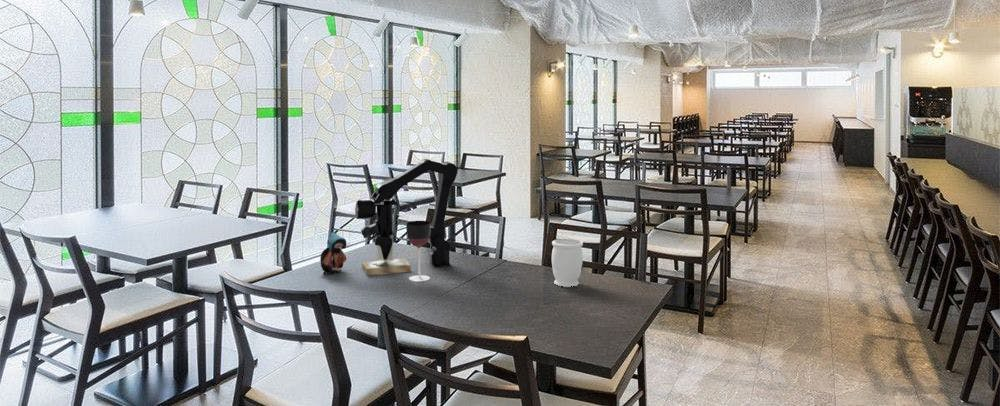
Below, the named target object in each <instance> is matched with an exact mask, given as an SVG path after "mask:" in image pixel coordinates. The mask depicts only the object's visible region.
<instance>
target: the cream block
mask: <svg viewBox="0 0 1000 406" xmlns="http://www.w3.org/2000/svg"><path fill="white" fill-rule="evenodd" d="M376 252H377V253H376V255H377V257H376V259H377V260H376V261H382V260H384V259H383V255H382V251H381V247H380V246H379V245H376ZM394 259H395V244H393V245H392V247H391V250H390V252H389V255H388V258H387V260H384V263H382V264H381V265H380V266H382V265H384V264H386V263H388V260H389V261H393V260H394Z"/></svg>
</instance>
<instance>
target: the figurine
mask: <svg viewBox="0 0 1000 406" xmlns="http://www.w3.org/2000/svg"><path fill="white" fill-rule="evenodd" d="M346 240H347V239H346V238H344V237H342V236H340V235H339V234H337V233H336V232H335V231H333V230H332V232H331V233H330V237H329V238H328V239H327V243H326V244H327V245H328V247H326V248H325V249H324V250H322V252H321V254H320V261H319V262H320V267H321V269H322V275H324V276H328V275H333V274H337V273H340V272H341V271H342V268H344V263H345V262H346V261H347V259H348V258H347V256H346V254H345V253H344V251H343V250H342V249H346V248H347V241H346Z"/></svg>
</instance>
